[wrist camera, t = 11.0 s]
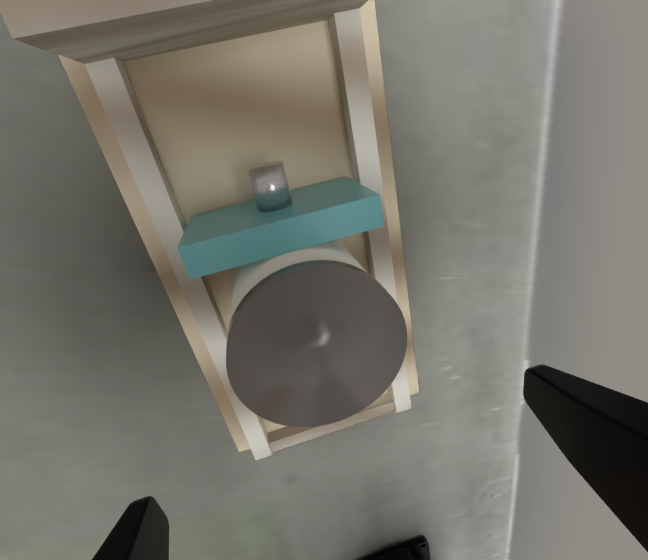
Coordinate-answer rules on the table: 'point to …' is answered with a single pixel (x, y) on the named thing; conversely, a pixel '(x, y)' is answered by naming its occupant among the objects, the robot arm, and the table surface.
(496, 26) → the table surface
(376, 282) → the jar
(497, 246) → the table surface
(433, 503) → the table surface
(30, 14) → the lane
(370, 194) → the plate
